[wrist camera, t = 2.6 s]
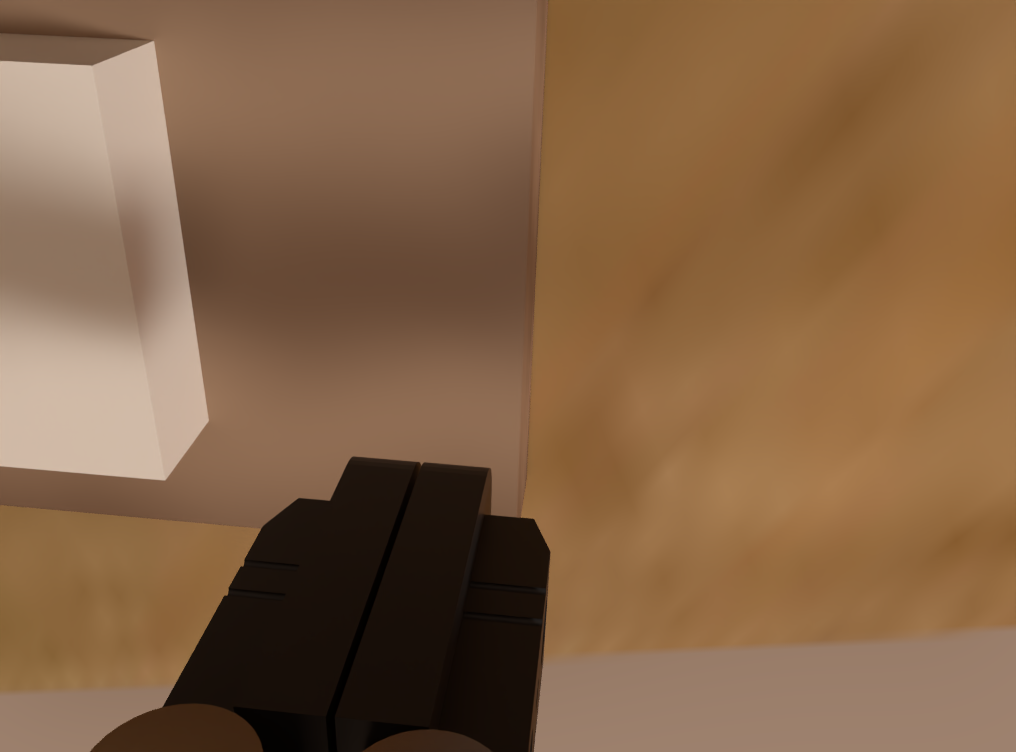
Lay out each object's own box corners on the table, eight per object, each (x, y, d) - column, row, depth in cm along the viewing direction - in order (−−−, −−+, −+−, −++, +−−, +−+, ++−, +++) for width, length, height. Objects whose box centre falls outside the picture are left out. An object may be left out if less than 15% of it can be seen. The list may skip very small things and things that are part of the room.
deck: (-368, -193, 17) (-518, -200, 14) (554, -165, 15) (543, -167, 13) (-149, 422, 23) (-232, 483, 20) (526, 479, 21) (515, 551, 19)
